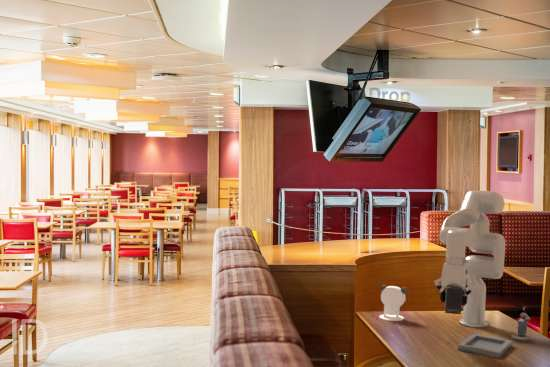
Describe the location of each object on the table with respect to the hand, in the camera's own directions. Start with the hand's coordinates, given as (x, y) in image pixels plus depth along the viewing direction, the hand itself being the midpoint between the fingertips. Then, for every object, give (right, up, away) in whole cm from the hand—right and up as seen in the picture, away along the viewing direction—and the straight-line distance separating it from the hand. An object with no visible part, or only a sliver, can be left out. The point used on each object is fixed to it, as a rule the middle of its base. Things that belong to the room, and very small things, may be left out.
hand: (453, 303), depth 268 cm
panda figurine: (-17, -15, +43) cm, 48 cm away
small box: (0, -3, 0) cm, 3 cm away
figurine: (+32, -18, +13) cm, 39 cm away
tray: (+13, -18, -1) cm, 22 cm away
